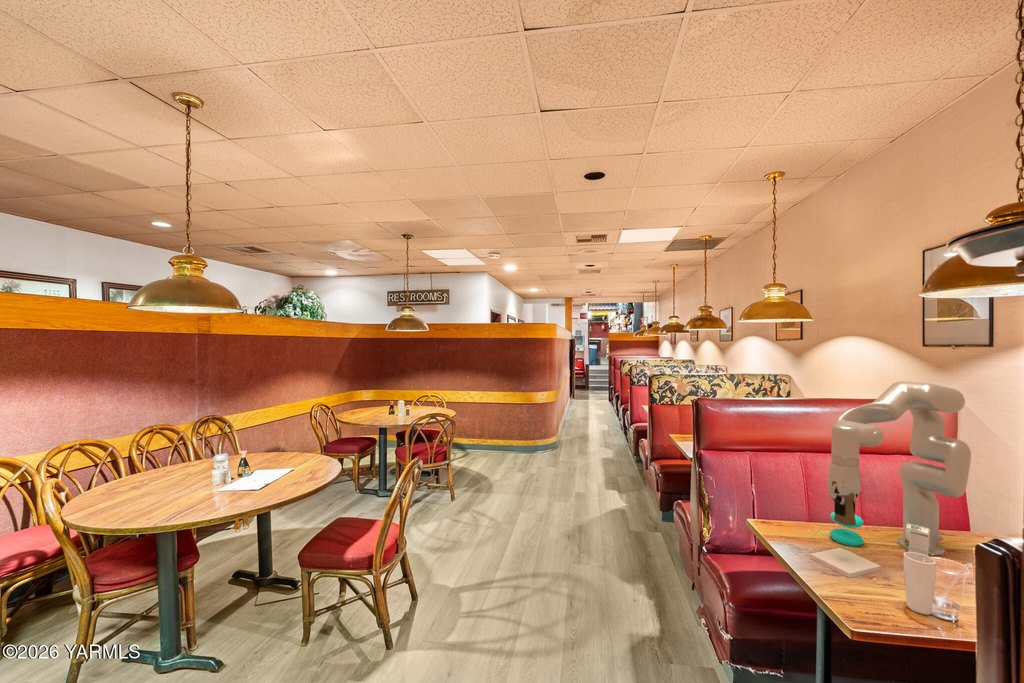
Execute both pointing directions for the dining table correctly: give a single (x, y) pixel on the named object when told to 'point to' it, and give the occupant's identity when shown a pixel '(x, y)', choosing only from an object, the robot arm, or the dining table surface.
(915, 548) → the syrup box
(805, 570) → the dining table surface
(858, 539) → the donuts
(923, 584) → the white tall cup
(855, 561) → the ceramic tile
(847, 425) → the robot arm
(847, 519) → the cork
